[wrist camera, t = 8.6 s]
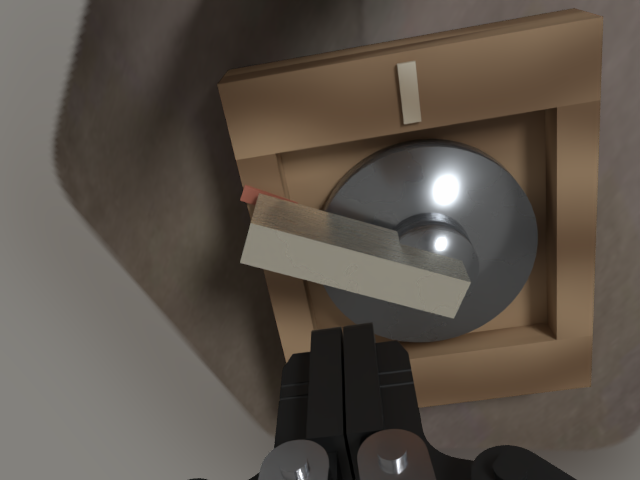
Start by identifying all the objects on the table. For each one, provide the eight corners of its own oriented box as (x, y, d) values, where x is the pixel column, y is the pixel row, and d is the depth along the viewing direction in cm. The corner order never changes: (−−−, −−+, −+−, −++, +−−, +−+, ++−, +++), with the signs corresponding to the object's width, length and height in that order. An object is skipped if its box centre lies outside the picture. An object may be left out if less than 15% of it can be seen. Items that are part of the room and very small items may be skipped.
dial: (567, 174, 27) (612, 218, 23) (478, 348, 31) (502, 413, 27) (286, 90, 25) (278, 121, 21) (234, 285, 30) (218, 344, 25)
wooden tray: (223, 70, 27) (211, 86, 24) (574, 8, 25) (605, 17, 22) (299, 385, 35) (296, 425, 32) (569, 350, 33) (592, 389, 30)
